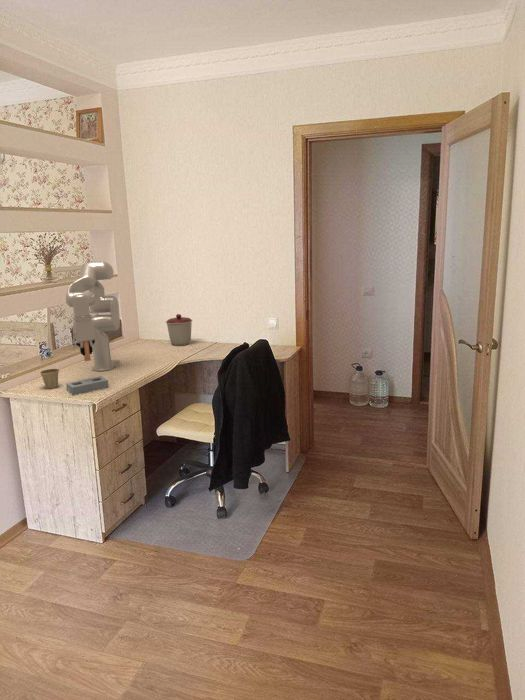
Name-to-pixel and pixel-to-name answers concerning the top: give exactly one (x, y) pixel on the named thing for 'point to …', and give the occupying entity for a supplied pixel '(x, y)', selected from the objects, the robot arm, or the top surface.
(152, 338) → the top surface
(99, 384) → the socket block
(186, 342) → the canister
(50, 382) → the flower pot
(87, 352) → the peg
